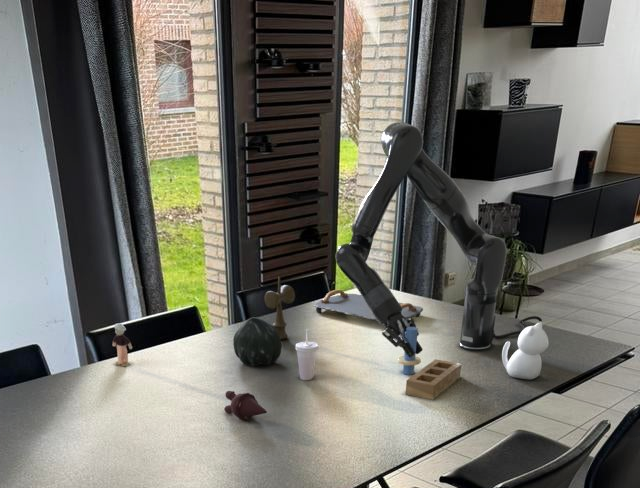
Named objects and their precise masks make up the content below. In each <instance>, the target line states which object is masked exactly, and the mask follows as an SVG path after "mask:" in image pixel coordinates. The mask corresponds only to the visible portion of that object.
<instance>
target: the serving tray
mask: <svg viewBox="0 0 640 488" xmlns="http://www.w3.org/2000/svg"><path fill="white" fill-rule="evenodd" d="M336 294H337V295H336ZM398 303H399V304H400V306H401V307H402V311H401V314H402V315H403V316H404V317H405V318H406V319H410V318H414V317H415V318H419V317H420V316H421V313H422V312H423V311H424V308H423V307H422V306H418V305H413V304H412V303H409V302H405V303H404V302H398ZM313 308H315V312H316V313H318V314H320V313H321V312H322V311H323V310H326V311H331V312H335V313H340V314H344V315H349V316H353V317H359V318H363V319H366V320H367V319H368V320H371V321H377V319H376V318H375V316H374V315H373V313H372V312H371V310H370V309H369V307H368V306H367V304H366V302H365V300H364V298H363V297H362V295H361V294H357V293H347V292H344V291H343V289H333V290H331V291H329V292H328V293H326V295H325V296H324V298H323V299H321V300H319V301H317V302H316V303H314V304H313ZM377 322H378V321H377ZM383 326H384V327H385V325H383Z"/></svg>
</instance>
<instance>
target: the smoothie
mask: <svg viewBox="0 0 640 488" xmlns="http://www.w3.org/2000/svg"><path fill="white" fill-rule="evenodd" d="M318 349H319V344H318V343H317V342H315V341H309V328H305V341H300V342H297V343H295V350H296V355H297V363H298V372H299V379H301V380H303V381H310V380H313V379H314V374H315V365H316V359H317V351H318Z"/></svg>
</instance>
